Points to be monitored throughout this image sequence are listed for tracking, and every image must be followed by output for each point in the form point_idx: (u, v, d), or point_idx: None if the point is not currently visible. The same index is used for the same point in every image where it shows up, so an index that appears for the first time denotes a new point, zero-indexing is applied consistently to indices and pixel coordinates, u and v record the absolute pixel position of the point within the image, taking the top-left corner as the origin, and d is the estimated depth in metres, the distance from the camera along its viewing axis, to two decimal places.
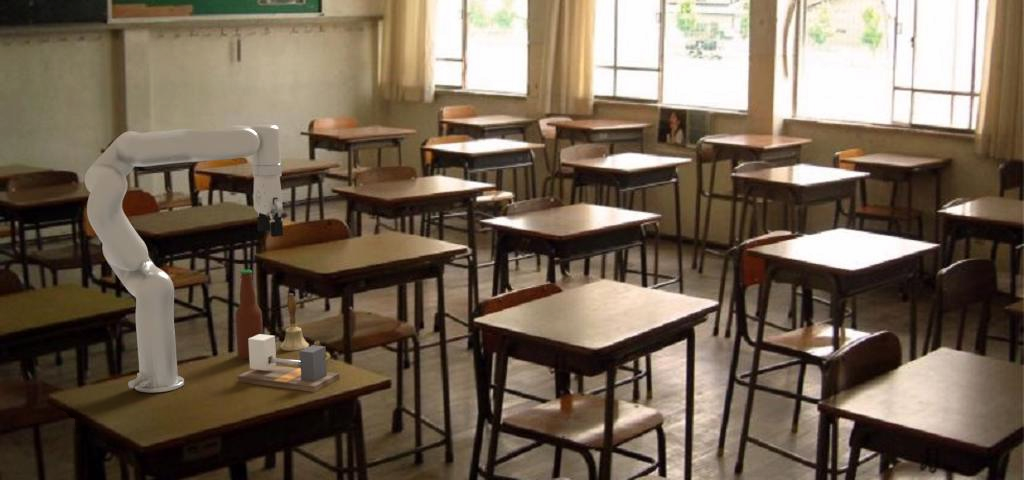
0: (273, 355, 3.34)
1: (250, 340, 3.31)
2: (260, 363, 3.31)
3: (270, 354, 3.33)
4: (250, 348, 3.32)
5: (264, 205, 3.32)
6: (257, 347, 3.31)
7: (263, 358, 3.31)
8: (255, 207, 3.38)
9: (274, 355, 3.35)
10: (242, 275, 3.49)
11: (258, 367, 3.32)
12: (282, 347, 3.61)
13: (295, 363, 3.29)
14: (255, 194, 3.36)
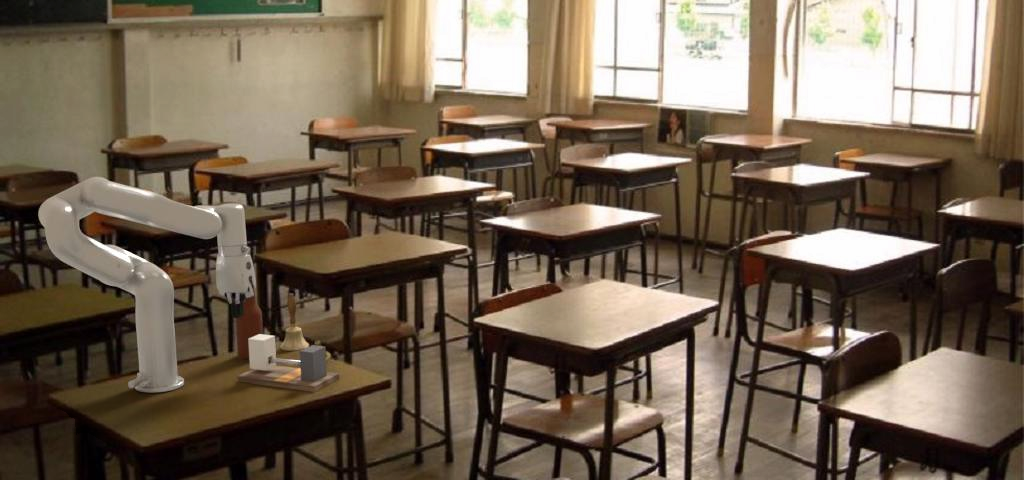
0: (273, 355, 3.34)
1: (250, 340, 3.31)
2: (260, 363, 3.31)
3: (270, 354, 3.33)
4: (250, 348, 3.32)
5: None
6: (257, 347, 3.31)
7: (263, 358, 3.31)
8: None
9: (274, 355, 3.35)
10: None
11: (258, 367, 3.32)
12: (282, 347, 3.61)
13: (295, 363, 3.29)
14: None
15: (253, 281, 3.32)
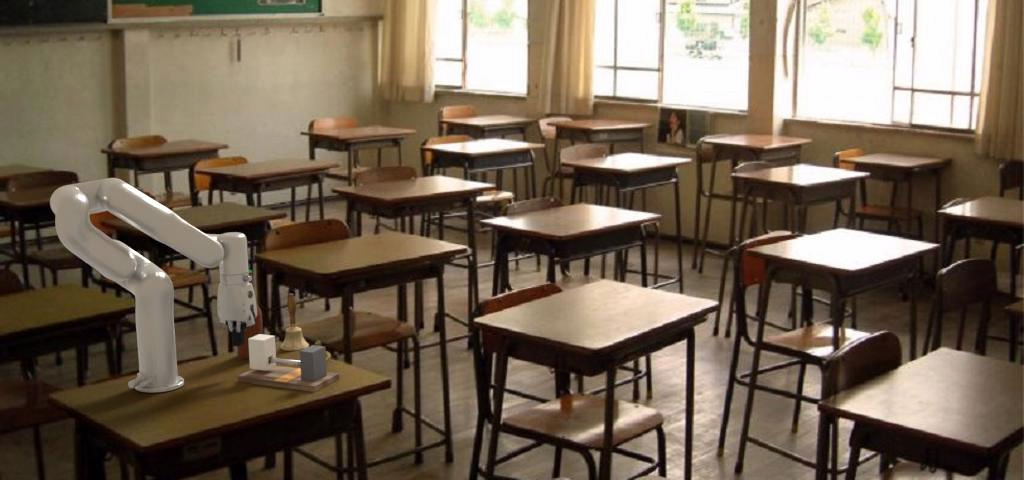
0: (273, 355, 3.34)
1: (250, 340, 3.31)
2: (260, 363, 3.31)
3: (270, 354, 3.33)
4: (250, 348, 3.32)
5: None
6: (257, 347, 3.31)
7: (263, 358, 3.31)
8: None
9: (274, 355, 3.35)
10: None
11: (258, 367, 3.32)
12: (282, 347, 3.61)
13: (295, 363, 3.29)
14: None
15: (254, 310, 3.34)
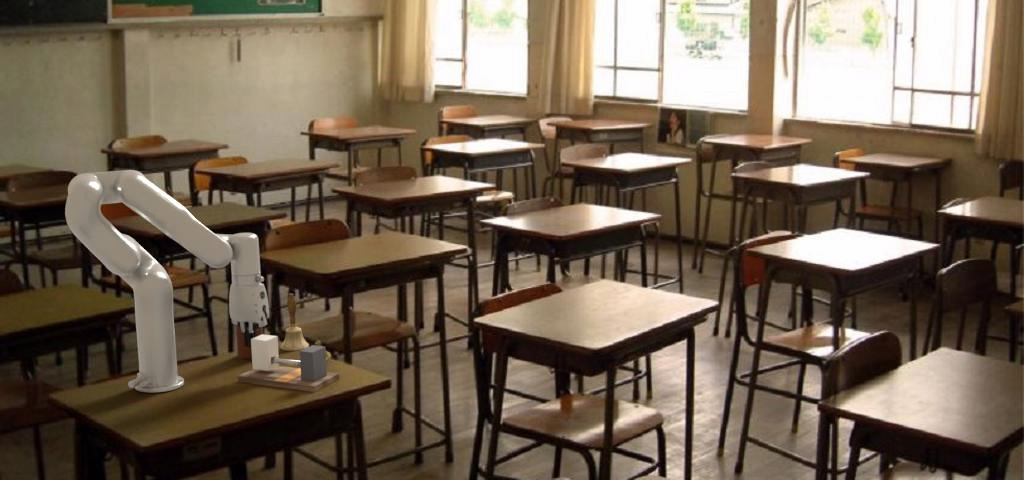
0: (276, 355, 3.34)
1: (253, 340, 3.31)
2: (263, 363, 3.31)
3: (273, 354, 3.32)
4: (253, 348, 3.32)
5: None
6: (259, 347, 3.31)
7: (266, 358, 3.31)
8: None
9: (277, 355, 3.34)
10: None
11: (261, 367, 3.32)
12: (282, 347, 3.61)
13: (295, 363, 3.29)
14: None
15: (266, 310, 3.32)
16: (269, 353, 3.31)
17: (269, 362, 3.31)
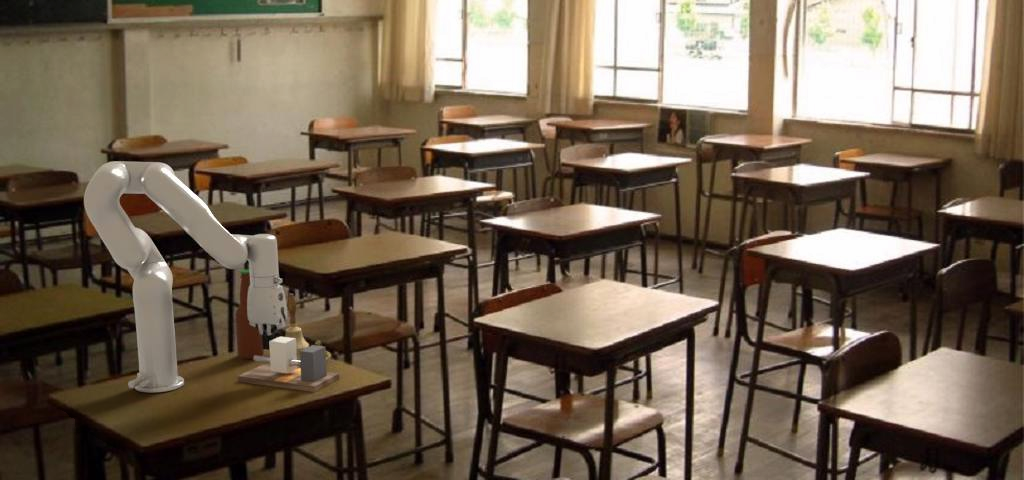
0: (294, 358, 3.31)
1: (271, 343, 3.29)
2: (281, 366, 3.29)
3: (291, 357, 3.30)
4: (271, 351, 3.29)
5: None
6: (278, 350, 3.28)
7: (284, 361, 3.28)
8: None
9: (295, 358, 3.32)
10: (242, 275, 3.49)
11: (279, 370, 3.29)
12: None
13: (295, 363, 3.29)
14: None
15: (285, 312, 3.30)
16: (287, 355, 3.29)
17: (287, 364, 3.29)
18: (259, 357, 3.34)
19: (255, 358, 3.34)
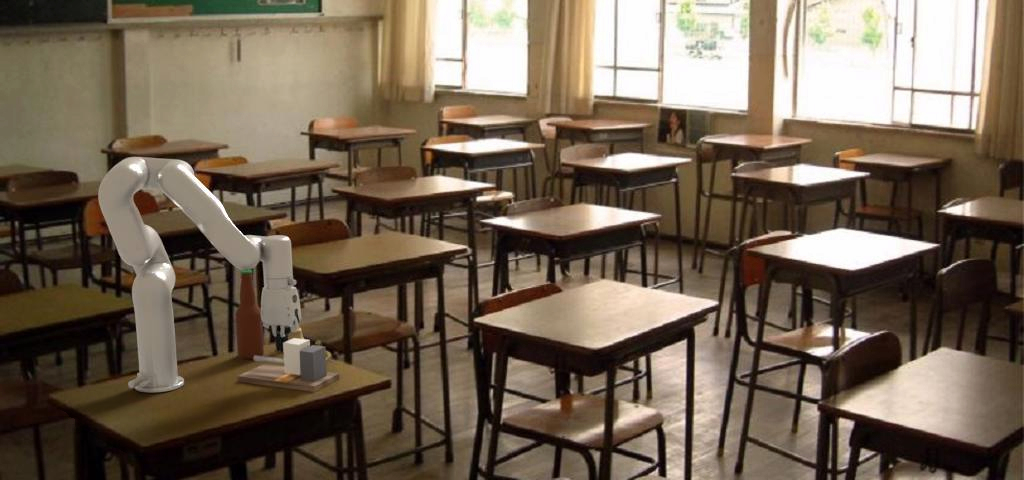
0: None
1: (285, 344, 3.27)
2: (295, 367, 3.27)
3: None
4: (285, 352, 3.27)
5: None
6: (292, 351, 3.27)
7: (298, 362, 3.27)
8: None
9: None
10: (242, 275, 3.49)
11: (293, 372, 3.28)
12: None
13: None
14: None
15: (299, 314, 3.28)
16: None
17: None
18: (259, 357, 3.34)
19: (255, 358, 3.34)
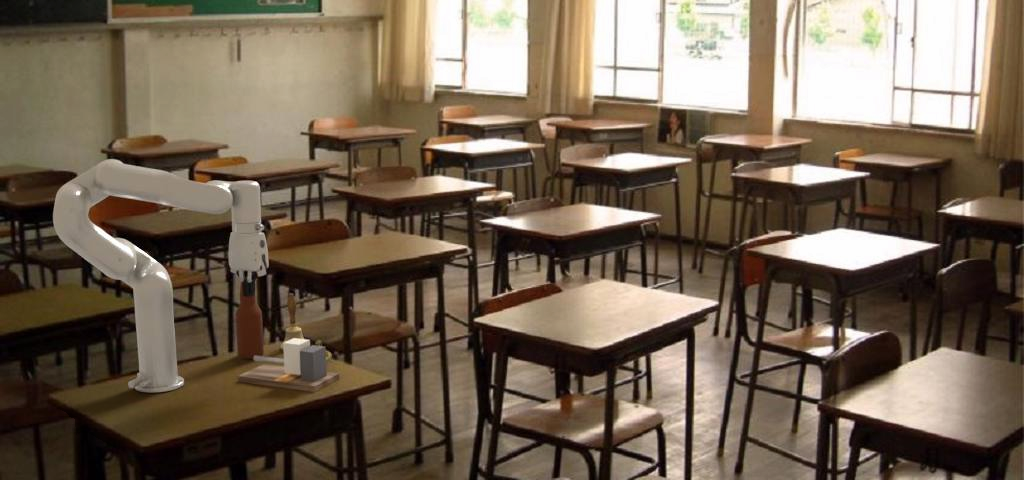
0: None
1: (285, 344, 3.27)
2: (295, 367, 3.27)
3: None
4: (285, 352, 3.27)
5: None
6: (292, 351, 3.26)
7: (298, 362, 3.27)
8: None
9: None
10: None
11: (293, 372, 3.28)
12: (282, 347, 3.61)
13: None
14: None
15: (266, 260, 3.29)
16: None
17: None
18: (259, 357, 3.34)
19: (255, 358, 3.34)
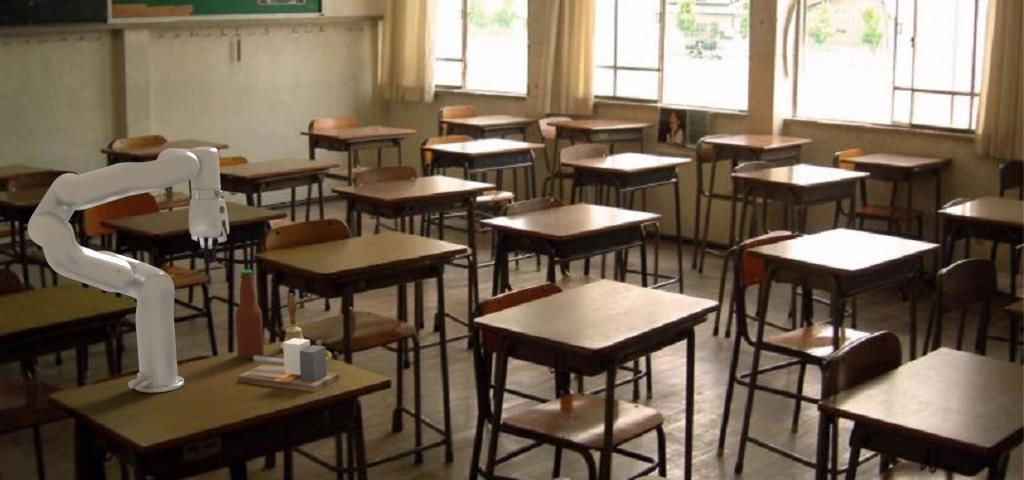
0: None
1: (285, 344, 3.27)
2: (295, 367, 3.27)
3: None
4: (285, 352, 3.27)
5: None
6: (292, 351, 3.26)
7: (298, 362, 3.27)
8: None
9: None
10: (242, 275, 3.49)
11: (293, 372, 3.28)
12: (282, 347, 3.61)
13: None
14: None
15: (226, 226, 3.29)
16: None
17: None
18: (259, 357, 3.34)
19: (255, 358, 3.34)
